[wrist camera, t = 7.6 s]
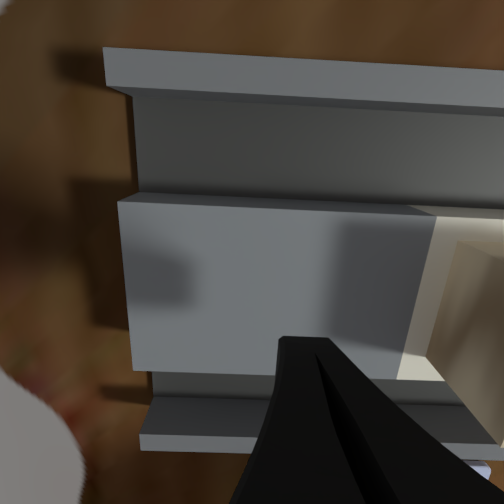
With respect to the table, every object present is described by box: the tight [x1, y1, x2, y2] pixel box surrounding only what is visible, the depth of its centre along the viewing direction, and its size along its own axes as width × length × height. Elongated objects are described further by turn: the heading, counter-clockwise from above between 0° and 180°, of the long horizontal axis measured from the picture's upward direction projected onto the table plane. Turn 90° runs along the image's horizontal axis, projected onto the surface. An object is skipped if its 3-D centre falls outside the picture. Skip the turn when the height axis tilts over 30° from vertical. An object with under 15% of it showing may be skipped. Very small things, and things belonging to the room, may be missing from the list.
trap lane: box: [103, 47, 504, 460], centre depth 13 cm, size 16×18×2 cm
